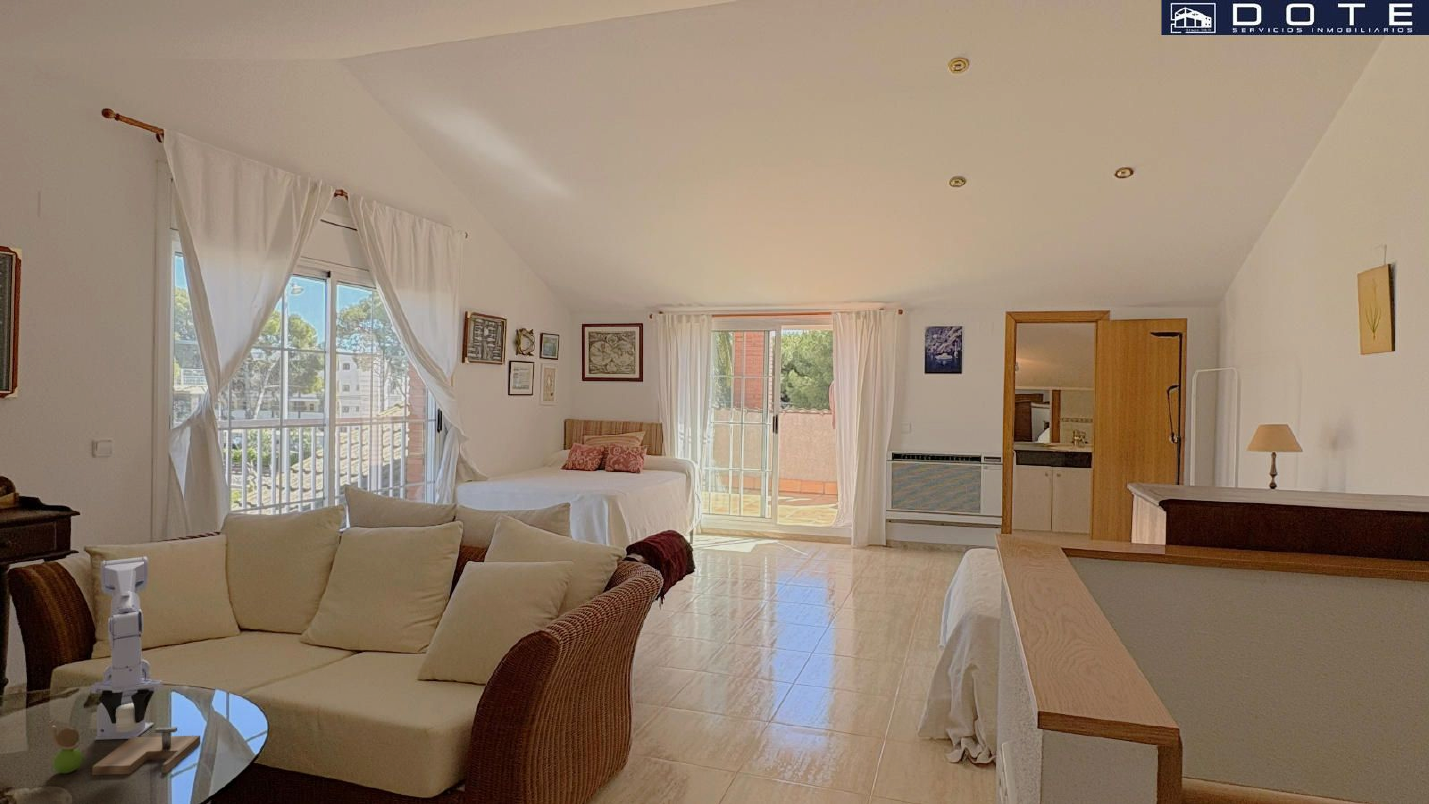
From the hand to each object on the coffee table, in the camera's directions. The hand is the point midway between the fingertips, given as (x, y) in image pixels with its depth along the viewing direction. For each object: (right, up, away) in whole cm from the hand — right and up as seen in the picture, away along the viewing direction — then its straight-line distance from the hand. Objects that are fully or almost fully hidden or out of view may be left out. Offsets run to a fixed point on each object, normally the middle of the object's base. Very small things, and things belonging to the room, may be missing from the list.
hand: (128, 721), depth 185 cm
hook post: (+5, -8, +5) cm, 11 cm away
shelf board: (+2, -10, +4) cm, 11 cm away
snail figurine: (-12, -11, -3) cm, 16 cm away
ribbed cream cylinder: (0, -2, 0) cm, 2 cm away
